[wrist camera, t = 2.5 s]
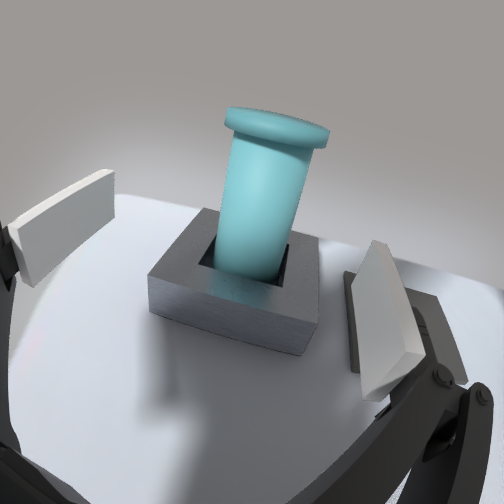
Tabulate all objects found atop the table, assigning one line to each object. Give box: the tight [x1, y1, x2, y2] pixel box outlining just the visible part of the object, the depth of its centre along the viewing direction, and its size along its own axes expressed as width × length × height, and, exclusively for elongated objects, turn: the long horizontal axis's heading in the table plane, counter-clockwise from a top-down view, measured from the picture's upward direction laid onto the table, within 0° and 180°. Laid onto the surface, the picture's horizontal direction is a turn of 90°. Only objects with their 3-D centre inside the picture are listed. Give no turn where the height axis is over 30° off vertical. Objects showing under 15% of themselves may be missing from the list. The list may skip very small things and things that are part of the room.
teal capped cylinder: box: [212, 107, 330, 285], centre depth 23 cm, size 8×8×16 cm
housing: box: [147, 208, 319, 356], centre depth 27 cm, size 13×13×4 cm
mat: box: [343, 271, 468, 385], centre depth 27 cm, size 14×14×1 cm
